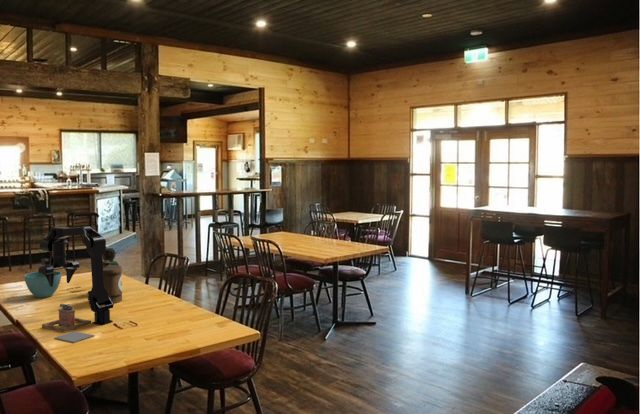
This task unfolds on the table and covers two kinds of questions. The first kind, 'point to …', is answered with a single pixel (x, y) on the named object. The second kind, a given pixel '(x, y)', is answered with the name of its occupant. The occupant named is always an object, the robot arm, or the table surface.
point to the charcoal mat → (74, 337)
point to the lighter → (66, 315)
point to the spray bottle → (109, 256)
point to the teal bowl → (42, 284)
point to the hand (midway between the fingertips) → (59, 284)
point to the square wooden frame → (81, 322)
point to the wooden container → (113, 281)
